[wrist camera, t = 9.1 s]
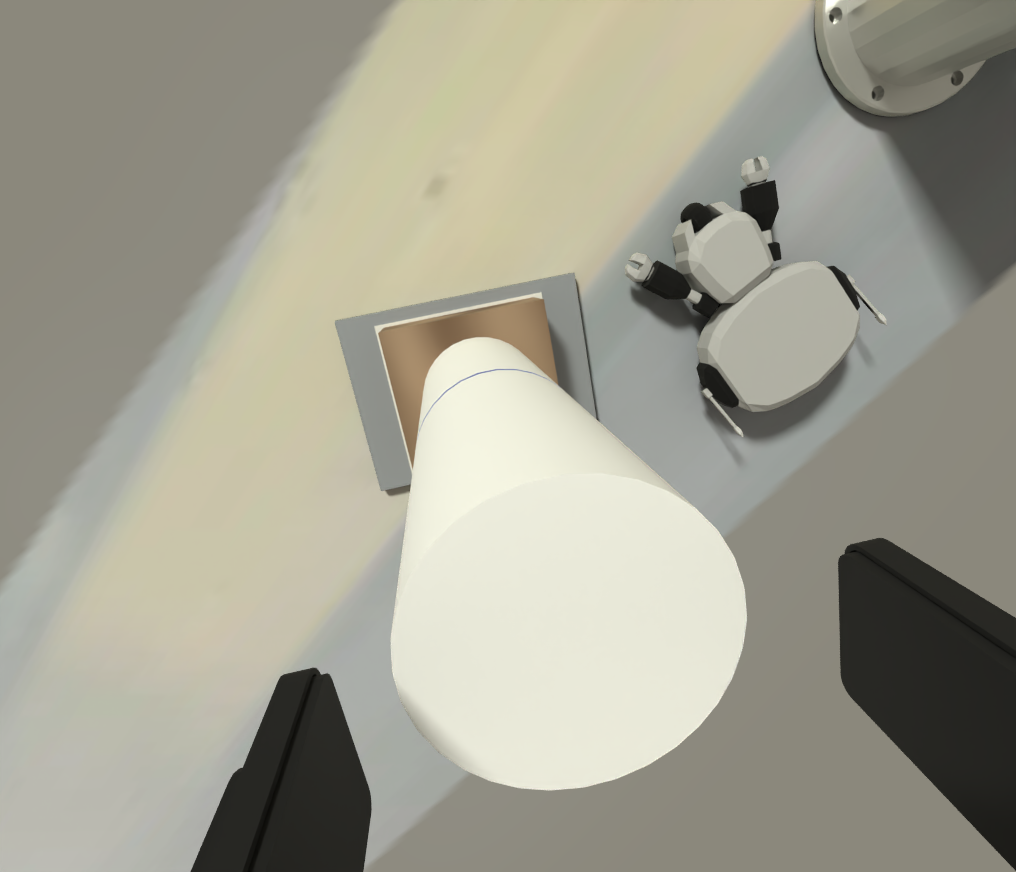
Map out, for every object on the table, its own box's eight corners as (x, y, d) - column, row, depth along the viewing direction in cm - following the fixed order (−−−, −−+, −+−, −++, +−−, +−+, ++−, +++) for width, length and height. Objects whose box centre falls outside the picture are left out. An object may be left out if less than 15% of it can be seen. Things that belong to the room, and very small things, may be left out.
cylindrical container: (559, 370, 35) (814, 564, 11) (505, 469, 37) (631, 828, 13) (456, 315, 34) (501, 406, 10) (403, 420, 35) (328, 726, 11)
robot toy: (601, 271, 40) (720, 432, 43) (618, 266, 36) (750, 446, 39) (743, 153, 39) (854, 327, 42) (778, 133, 35) (900, 328, 38)
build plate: (571, 272, 39) (574, 272, 38) (597, 439, 42) (600, 442, 41) (336, 320, 38) (334, 321, 37) (382, 487, 41) (380, 491, 40)
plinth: (533, 297, 38) (543, 299, 34) (557, 438, 41) (570, 455, 37) (384, 327, 37) (378, 333, 34) (419, 469, 40) (417, 489, 36)
